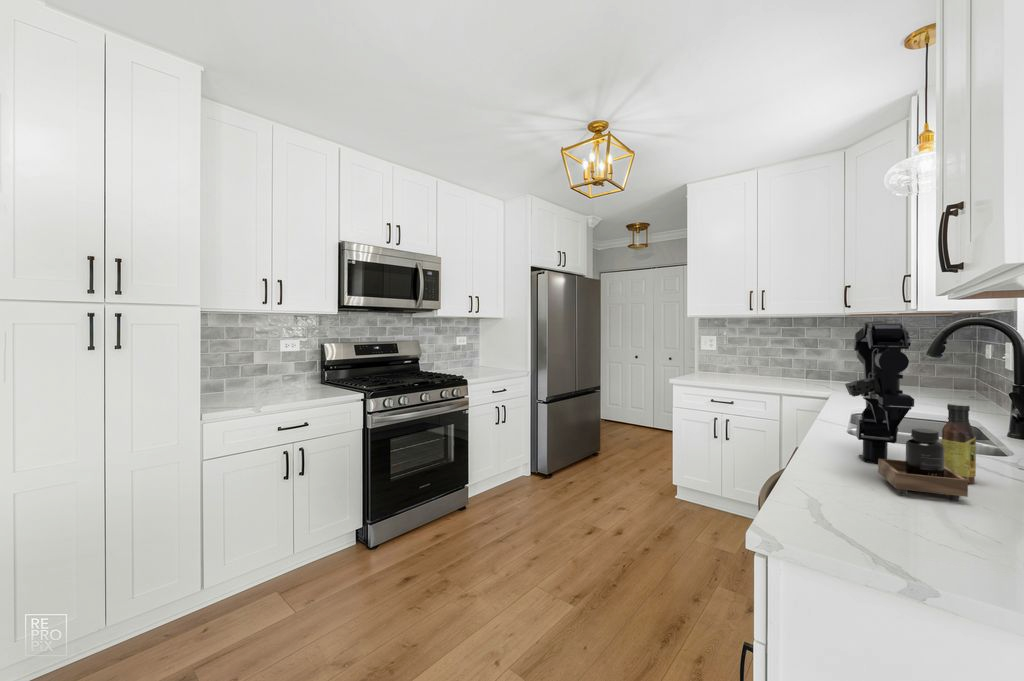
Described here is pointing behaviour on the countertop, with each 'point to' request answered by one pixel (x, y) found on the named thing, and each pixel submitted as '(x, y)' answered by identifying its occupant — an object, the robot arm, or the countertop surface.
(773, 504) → the countertop surface
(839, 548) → the countertop surface
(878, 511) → the countertop surface
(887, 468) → the square wooden tray
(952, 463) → the sauce bottle
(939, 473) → the supplement bottle
